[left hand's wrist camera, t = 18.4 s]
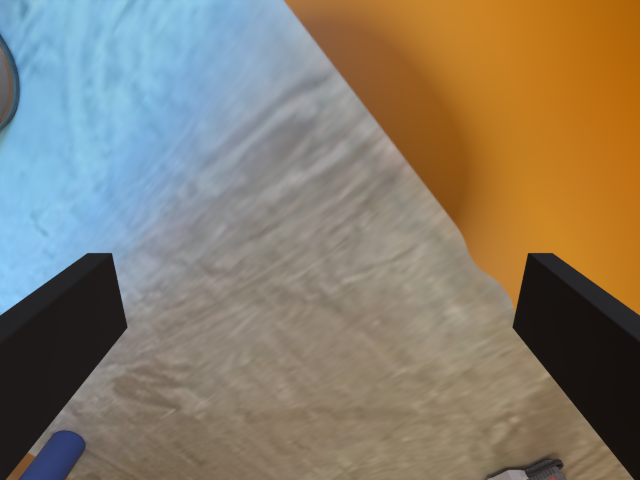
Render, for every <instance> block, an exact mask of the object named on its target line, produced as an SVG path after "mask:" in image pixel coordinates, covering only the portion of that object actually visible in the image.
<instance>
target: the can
mask: <svg viewBox="0 0 640 480" xmlns="http://www.w3.org/2000/svg"><path fill="white" fill-rule="evenodd" d="M84 450H85V442H84V440H83V439H82V438H81V437H80V436H79V435H77V434H75V433H73V432H70V431H59V432H56V433H55V434H53V435H52V437H51V438H50V439H49V441H48V442H47V443H46V445H45V446H44V447H43V448H42V450H41V451H40V452H39V454H38V455H37V456H36V458H35V459H34V460H33V461H32V463H31V464H30V465H29V467H28V468H27V469H26V471H25V472H24V473H23V474H22V476H21V477H20V478H19V480H65V479H66V478H67V476H68V474H69V473H70V471H71V470H72V468H73V467H74V465H75V464H76V462H77V461H78V459H79V458H80V456H81V454H82V453H83V451H84Z"/></svg>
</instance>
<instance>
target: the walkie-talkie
mask: <svg viewBox="0 0 640 480" xmlns="http://www.w3.org/2000/svg"><path fill="white" fill-rule="evenodd" d="M563 466H564V465H563V463H562V461H561V460H559V459H557V460H545V461H543V462H540V463H538V464H536V465H534V466H532V467H530V468H528V469H526V470H523V471H521V470H507V471H505V472H503V473H501V474H499V475H497V476H495V477H493V478H489V479H487V480H567V479H566V477H565V476H564V475H563V473H562V472H561V471H560V469H561V468H563Z"/></svg>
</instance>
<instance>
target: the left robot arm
mask: <svg viewBox="0 0 640 480" xmlns="http://www.w3.org/2000/svg"><path fill="white" fill-rule="evenodd" d="M18 99H19V79H18V73H17V69H16V65H15V62H14V60H13V57H12V55H11V53H10V50H9V49H8V47H7V45H6V43H5V42H4V40H3V38H2V37H1V35H0V130H1V129H3V128H4V127H5V126H6V125H7V124H8V123H9V121H10V120H11V118H12V117H13V115H14V113H15V110H16V107H17V104H18ZM126 329H127V323H126V318H125V313H124V309H123V304H122V299H121V294H120V290H119V285H118V280H117V275H116V271H115V266H114V261H113V256H112V253H87V254H86V255H84V256H83V257H81V258H80V259H79V260H77V261H76V262H75V263H73V264H72V265H70V266H69V267H68V268H66V269H65V270H63V271H62V272H61V273H59V274H58V275H56V276H55V277H54V278H52V279H51V280H49V281H48V282H47V283H45V284H44V285H42V286H41V287H40V288H38V289H37V290H35V291H34V292H33V293H31V294H30V295H28V296H27V297H26V298H24V299H23V300H21V301H20V302H19V303H17V304H16V305H14V306H13V307H12V308H10V309H9V310H7V311H6V312H5V313H3V314H2V315H0V480H6V479H7V477H8V476H9V475H10V474H11V472H12V471H13V470H14V469H15V467H16V466H17V465H18V464H19V462H20V461H21V460H22V459H23V457H24V456H25V455H26V454H27V452H28V451H29V450H30V449H31V447H32V446H33V445H34V444H35V442H36V441H37V440H38V439H39V437H40V436H41V435H42V434H43V432H44V431H45V430H46V429H47V427H48V426H49V425H50V424H51V422H52V421H53V420H54V419H55V417H56V416H57V415H58V414H59V412H60V411H61V410H62V409H63V407H64V406H65V405H66V404H67V402H68V401H69V400H70V399H71V397H72V396H73V395H74V394H75V392H76V391H77V390H78V389H79V387H80V386H81V385H82V384H83V382H84V381H85V380H86V379H87V377H88V376H89V375H90V374H91V372H92V371H93V370H94V369H95V367H96V366H97V365H98V364H99V362H100V361H101V360H102V359H103V357H104V356H105V355H106V354H107V352H108V351H109V350H110V349H111V347H112V346H113V345H114V344H115V342H116V341H117V340H118V339H119V337H120V336H121V335H122V334H123V332H124V331H125V330H126ZM513 329H514V330H515V331H516V332H517V334H518V335H519V336H520V337H521V339H522V340H523V341H524V342H525V344H526V345H527V346H528V347H529V349H530V350H531V351H532V352H533V354H534V355H535V356H536V357H537V359H538V360H539V361H540V362H541V364H542V365H543V366H544V367H545V369H546V370H547V371H548V372H549V374H550V375H551V376H552V377H553V379H554V380H555V381H556V382H557V384H558V385H559V386H560V387H561V389H562V390H563V391H564V392H565V394H566V395H567V396H568V397H569V399H570V400H571V401H572V402H573V404H574V405H575V406H576V407H577V409H578V410H579V411H580V412H581V414H582V415H583V416H584V417H585V419H586V420H587V421H588V422H589V424H590V425H591V426H592V427H593V429H594V430H595V431H596V432H597V434H598V435H599V436H600V437H601V439H602V440H603V441H604V442H605V444H606V445H607V446H608V447H609V449H610V450H611V451H612V452H613V454H614V455H615V456H616V457H617V459H618V460H619V461H620V462H621V464H622V465H623V466H624V467H625V469H626V470H627V471H628V472H629V474H630V475H631V476H632V477H633V479H634V480H640V315H638V314H637V313H635V312H634V311H633V310H631V309H630V308H628V307H627V306H626V305H624V304H623V303H621V302H620V301H619V300H617V299H616V298H614V297H613V296H612V295H610V294H609V293H607V292H606V291H605V290H603V289H602V288H600V287H599V286H598V285H596V284H595V283H593V282H592V281H591V280H589V279H588V278H586V277H585V276H584V275H582V274H581V273H579V272H578V271H577V270H575V269H574V268H572V267H571V266H570V265H568V264H567V263H565V262H564V261H563V260H561V259H560V258H559V257H557V256H556V255H554V254H553V253H528V256H527V261H526V266H525V271H524V275H523V280H522V285H521V290H520V294H519V299H518V304H517V309H516V313H515V318H514V323H513Z"/></svg>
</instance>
